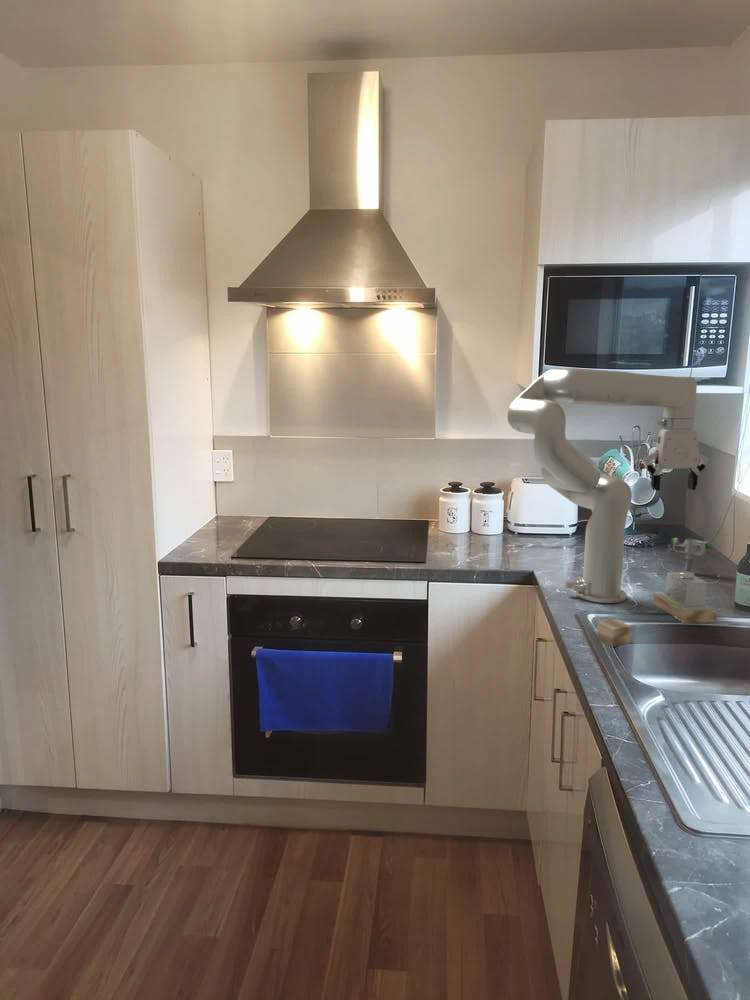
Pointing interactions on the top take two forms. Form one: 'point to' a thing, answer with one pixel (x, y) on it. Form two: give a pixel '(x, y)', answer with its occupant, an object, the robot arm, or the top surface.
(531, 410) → the robot arm
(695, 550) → the mechanical component
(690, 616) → the wooden block
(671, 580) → the housing
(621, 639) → the ash block
